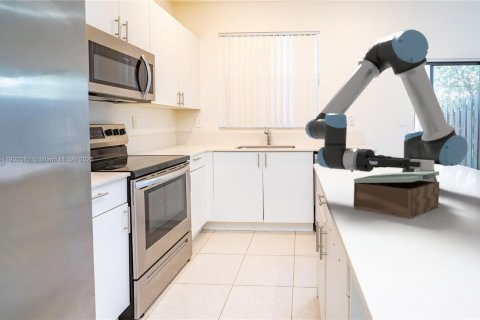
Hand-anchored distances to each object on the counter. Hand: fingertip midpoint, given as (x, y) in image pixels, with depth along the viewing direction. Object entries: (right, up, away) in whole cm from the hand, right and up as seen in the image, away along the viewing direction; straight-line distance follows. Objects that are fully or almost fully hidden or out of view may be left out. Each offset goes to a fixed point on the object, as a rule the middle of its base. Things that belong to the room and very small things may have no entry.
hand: (433, 165), depth 117 cm
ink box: (+7, -13, +21) cm, 26 cm away
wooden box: (-7, -14, +9) cm, 18 cm away
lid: (-7, -4, +7) cm, 11 cm away
